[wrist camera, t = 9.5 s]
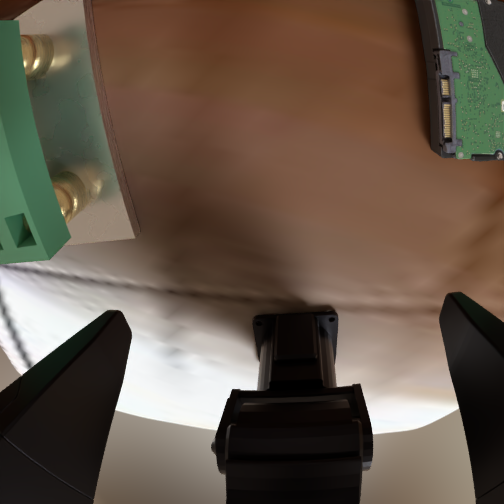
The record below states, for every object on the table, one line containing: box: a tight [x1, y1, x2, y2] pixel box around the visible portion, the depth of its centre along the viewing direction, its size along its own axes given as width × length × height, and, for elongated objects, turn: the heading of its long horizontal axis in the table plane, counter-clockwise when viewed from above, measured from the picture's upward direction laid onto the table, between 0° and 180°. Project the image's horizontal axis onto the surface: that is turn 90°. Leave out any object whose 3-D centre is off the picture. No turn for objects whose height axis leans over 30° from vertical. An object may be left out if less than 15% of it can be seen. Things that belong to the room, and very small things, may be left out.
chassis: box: [14, 0, 141, 246], centre depth 15 cm, size 18×12×6 cm, turn 8°
